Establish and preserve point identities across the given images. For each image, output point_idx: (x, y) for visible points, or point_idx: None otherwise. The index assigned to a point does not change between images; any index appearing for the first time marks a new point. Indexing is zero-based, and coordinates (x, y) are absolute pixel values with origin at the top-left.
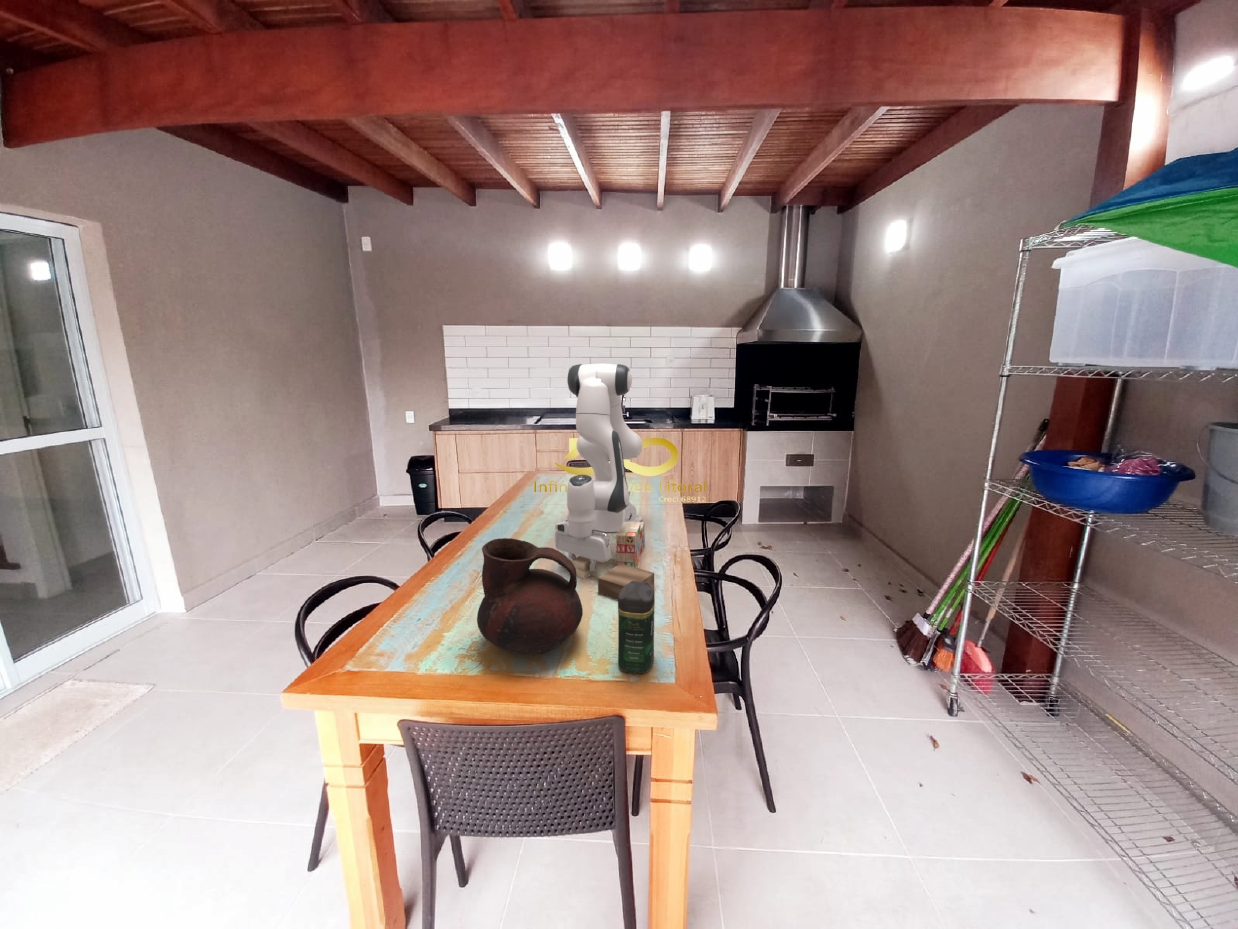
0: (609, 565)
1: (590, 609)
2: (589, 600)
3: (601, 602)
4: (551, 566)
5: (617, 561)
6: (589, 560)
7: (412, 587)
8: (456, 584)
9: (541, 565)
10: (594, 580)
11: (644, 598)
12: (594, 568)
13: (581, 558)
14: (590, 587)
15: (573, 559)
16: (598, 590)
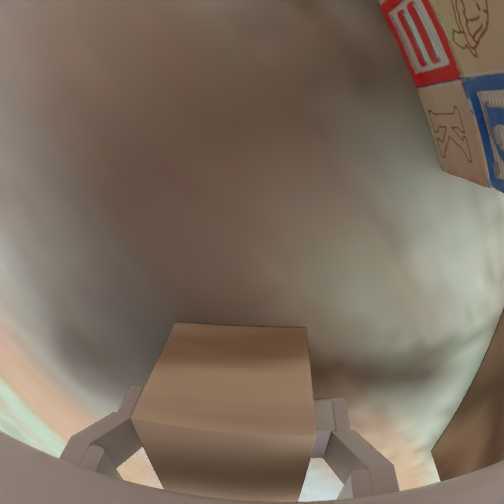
0: (342, 126)
1: None
2: (411, 481)
3: None
4: (30, 359)
5: (495, 184)
6: (301, 471)
7: None
8: None
9: (4, 364)
10: (366, 398)
11: None
12: (345, 405)
13: (200, 467)
14: (378, 444)
15: (164, 484)
16: (437, 463)
